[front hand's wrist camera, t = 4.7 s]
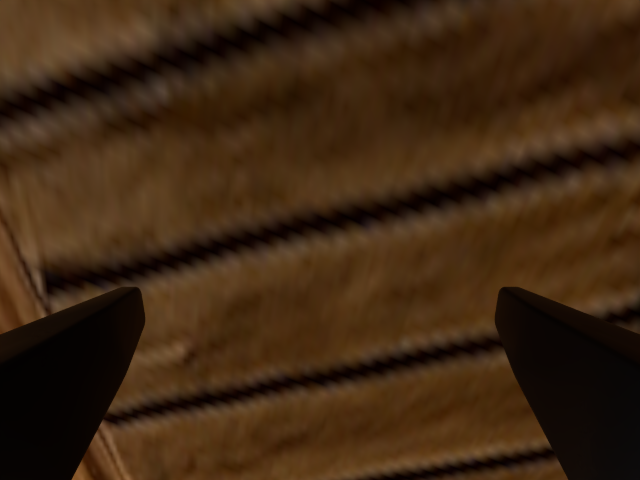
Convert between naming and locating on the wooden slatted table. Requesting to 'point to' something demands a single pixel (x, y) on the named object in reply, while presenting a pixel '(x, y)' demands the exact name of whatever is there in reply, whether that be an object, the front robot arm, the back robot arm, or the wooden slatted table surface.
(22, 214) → the wooden slatted table surface
